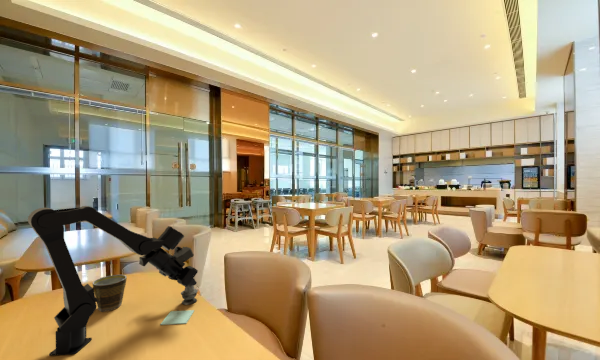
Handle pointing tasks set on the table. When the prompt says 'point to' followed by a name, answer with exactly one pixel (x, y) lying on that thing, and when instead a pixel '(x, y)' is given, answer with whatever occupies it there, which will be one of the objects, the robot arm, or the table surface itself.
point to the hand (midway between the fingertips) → (192, 282)
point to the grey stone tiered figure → (189, 295)
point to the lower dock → (177, 317)
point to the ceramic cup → (109, 291)
